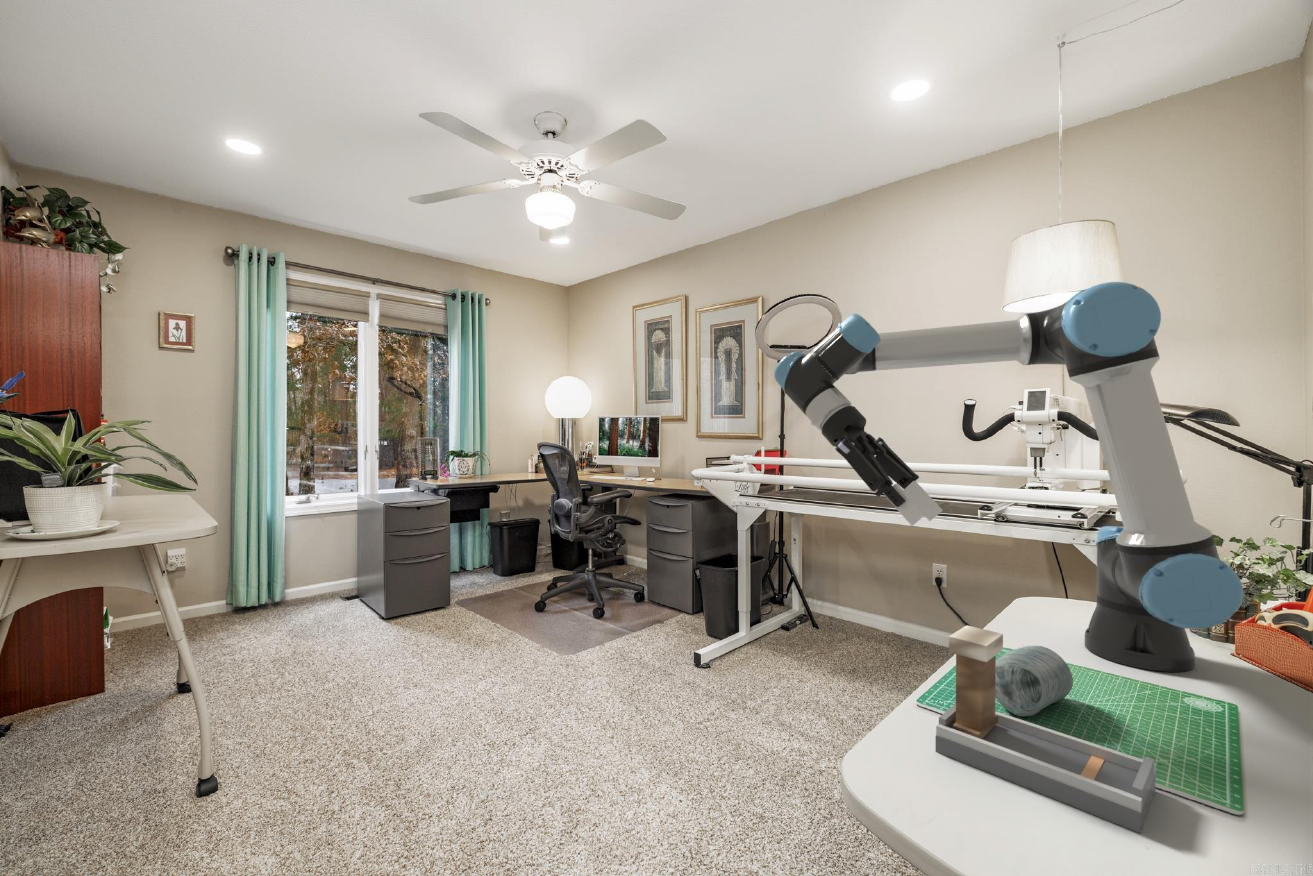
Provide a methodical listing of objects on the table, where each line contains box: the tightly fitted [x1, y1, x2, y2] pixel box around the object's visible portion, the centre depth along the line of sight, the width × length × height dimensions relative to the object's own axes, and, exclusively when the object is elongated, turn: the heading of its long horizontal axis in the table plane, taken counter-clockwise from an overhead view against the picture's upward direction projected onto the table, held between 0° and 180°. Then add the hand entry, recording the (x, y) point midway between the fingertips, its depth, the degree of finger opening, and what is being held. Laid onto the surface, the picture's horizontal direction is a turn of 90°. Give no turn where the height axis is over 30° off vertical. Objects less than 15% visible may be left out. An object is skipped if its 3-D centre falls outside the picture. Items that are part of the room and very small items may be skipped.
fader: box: [948, 625, 1004, 739], centre depth 74 cm, size 4×7×12 cm, turn 132°
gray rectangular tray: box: [935, 702, 1156, 834], centre depth 69 cm, size 20×10×4 cm, turn 42°
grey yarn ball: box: [995, 645, 1074, 717], centre depth 85 cm, size 14×10×10 cm
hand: (927, 517), depth 93 cm, fingers open, 6 cm apart
